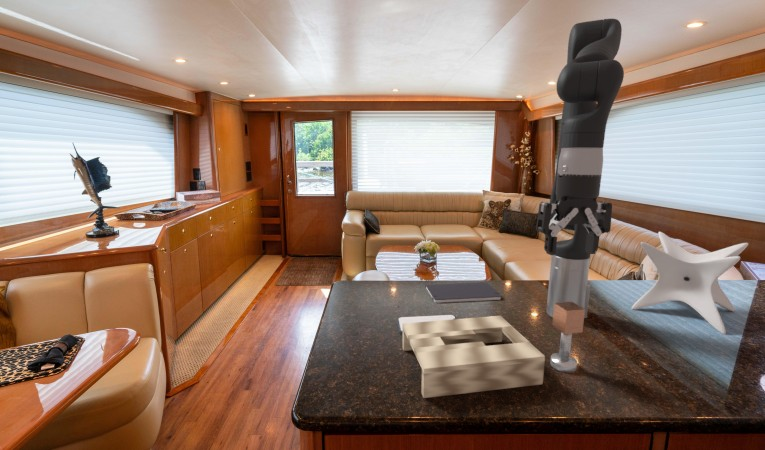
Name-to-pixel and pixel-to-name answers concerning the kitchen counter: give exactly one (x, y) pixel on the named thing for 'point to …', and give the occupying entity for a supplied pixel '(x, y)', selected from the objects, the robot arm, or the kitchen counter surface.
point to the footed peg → (566, 334)
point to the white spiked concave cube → (690, 278)
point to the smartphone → (421, 320)
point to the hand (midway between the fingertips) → (570, 253)
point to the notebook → (462, 292)
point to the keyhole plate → (471, 356)
